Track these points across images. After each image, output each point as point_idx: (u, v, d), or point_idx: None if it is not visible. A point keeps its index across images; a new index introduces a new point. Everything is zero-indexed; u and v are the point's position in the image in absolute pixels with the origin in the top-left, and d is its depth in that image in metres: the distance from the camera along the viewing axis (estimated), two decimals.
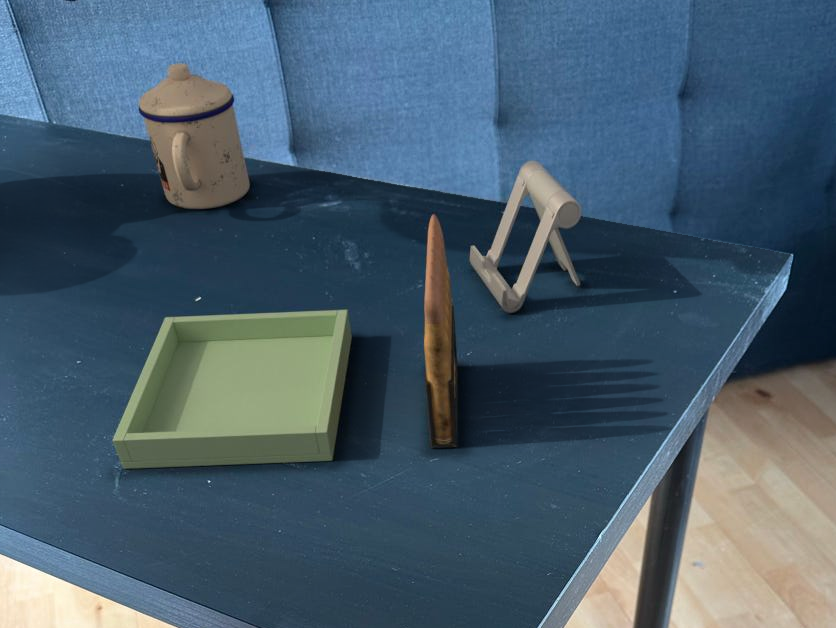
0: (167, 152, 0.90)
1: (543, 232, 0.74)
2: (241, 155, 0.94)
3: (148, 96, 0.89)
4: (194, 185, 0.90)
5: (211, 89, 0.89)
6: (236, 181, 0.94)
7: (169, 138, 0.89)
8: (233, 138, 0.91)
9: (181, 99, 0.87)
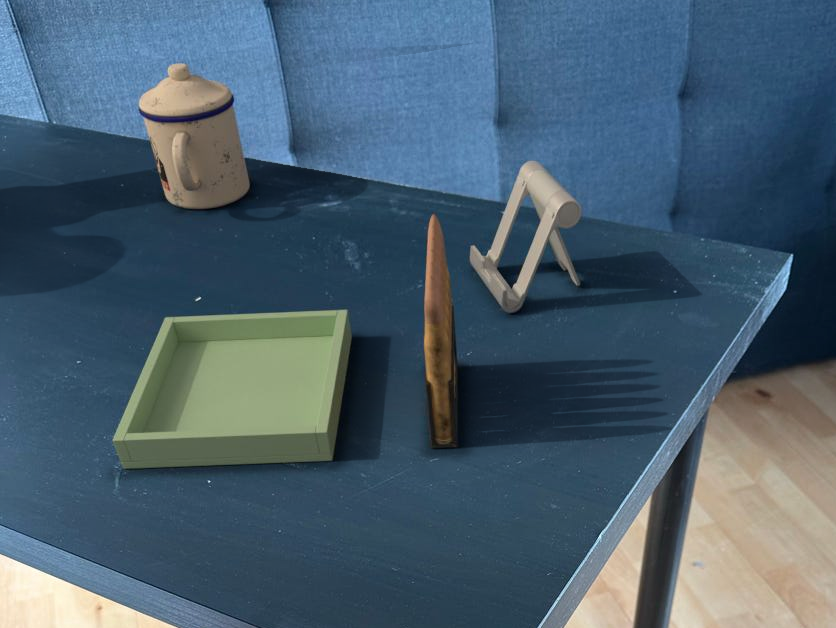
0: (167, 152, 0.90)
1: (543, 232, 0.74)
2: (241, 155, 0.94)
3: (148, 96, 0.89)
4: (194, 185, 0.90)
5: (211, 89, 0.89)
6: (236, 181, 0.94)
7: (169, 138, 0.89)
8: (233, 138, 0.91)
9: (181, 99, 0.87)
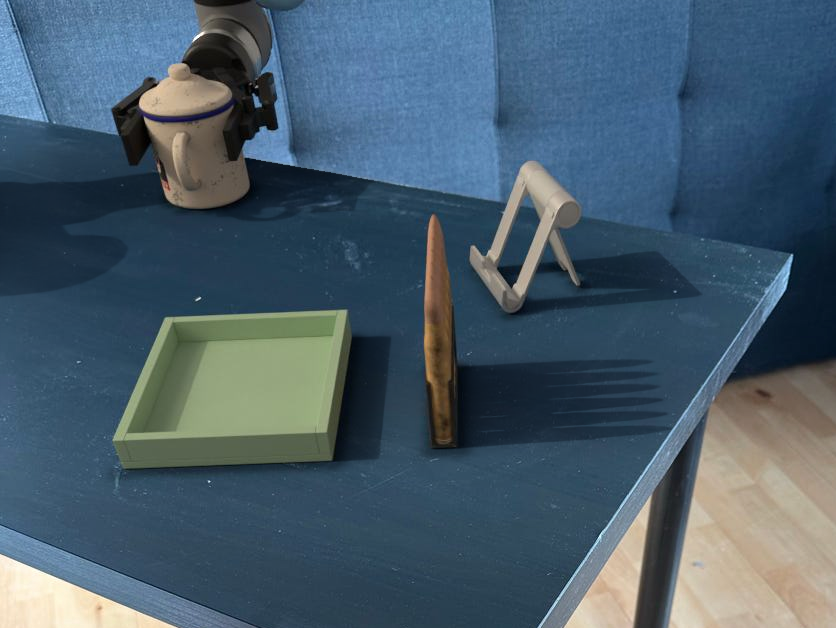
0: (167, 152, 0.90)
1: (543, 232, 0.74)
2: (241, 155, 0.94)
3: (148, 96, 0.89)
4: (194, 185, 0.90)
5: (211, 89, 0.89)
6: (236, 181, 0.94)
7: (169, 138, 0.89)
8: None
9: (181, 99, 0.87)
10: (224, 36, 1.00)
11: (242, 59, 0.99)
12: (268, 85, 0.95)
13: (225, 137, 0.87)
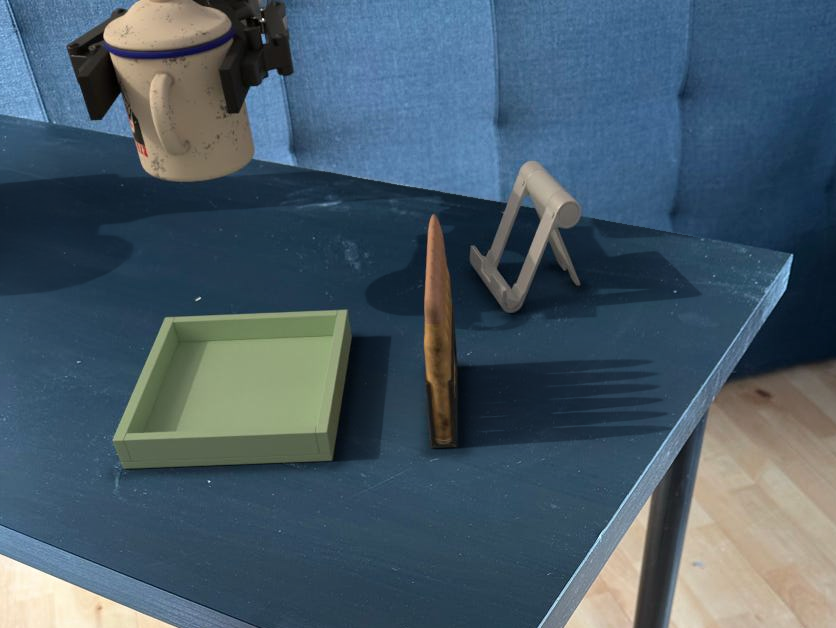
0: (143, 102, 0.66)
1: (543, 232, 0.74)
2: (244, 109, 0.69)
3: (116, 24, 0.64)
4: (180, 147, 0.65)
5: (203, 15, 0.65)
6: (237, 144, 0.69)
7: (145, 81, 0.64)
8: None
9: (162, 27, 0.63)
10: None
11: None
12: (279, 16, 0.71)
13: (223, 79, 0.63)
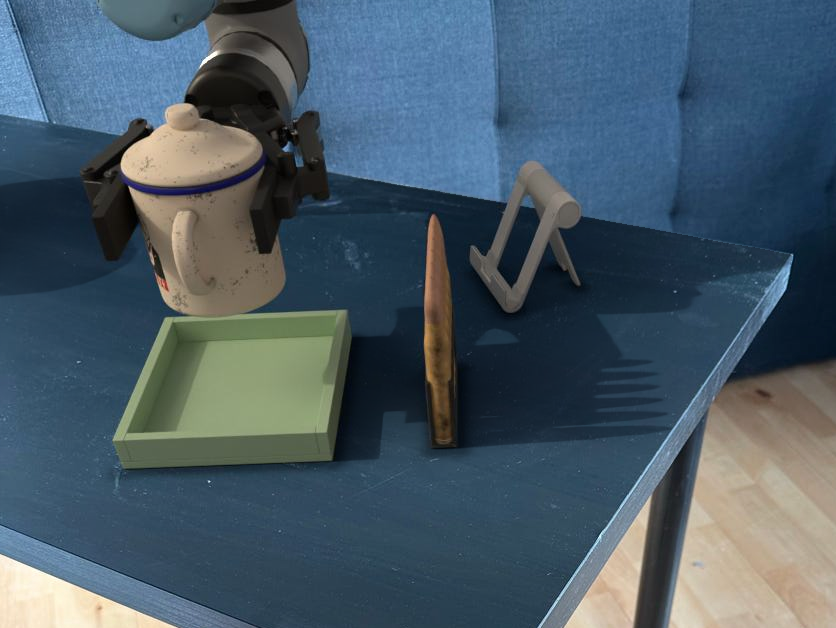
0: (164, 238, 0.59)
1: (543, 232, 0.74)
2: None
3: (135, 153, 0.58)
4: (205, 288, 0.59)
5: (232, 143, 0.58)
6: (267, 276, 0.63)
7: (167, 218, 0.58)
8: None
9: (186, 160, 0.56)
10: (246, 57, 0.69)
11: (273, 91, 0.68)
12: (314, 131, 0.64)
13: (254, 219, 0.56)
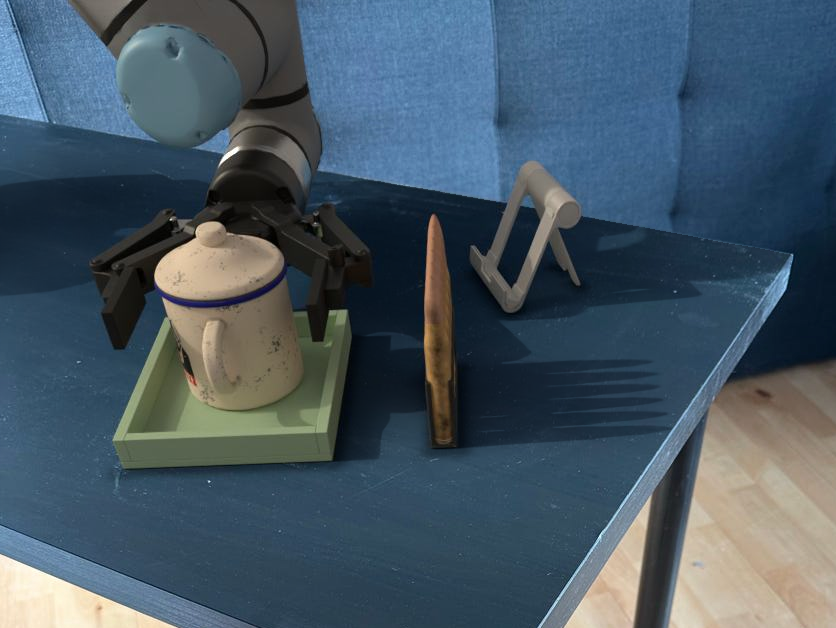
0: (193, 342, 0.64)
1: (543, 232, 0.74)
2: (294, 336, 0.68)
3: (168, 267, 0.63)
4: (232, 389, 0.64)
5: (256, 257, 0.63)
6: (287, 371, 0.68)
7: (197, 326, 0.63)
8: (285, 319, 0.66)
9: (215, 275, 0.62)
10: (265, 155, 0.74)
11: (290, 187, 0.73)
12: (342, 224, 0.70)
13: (309, 313, 0.62)
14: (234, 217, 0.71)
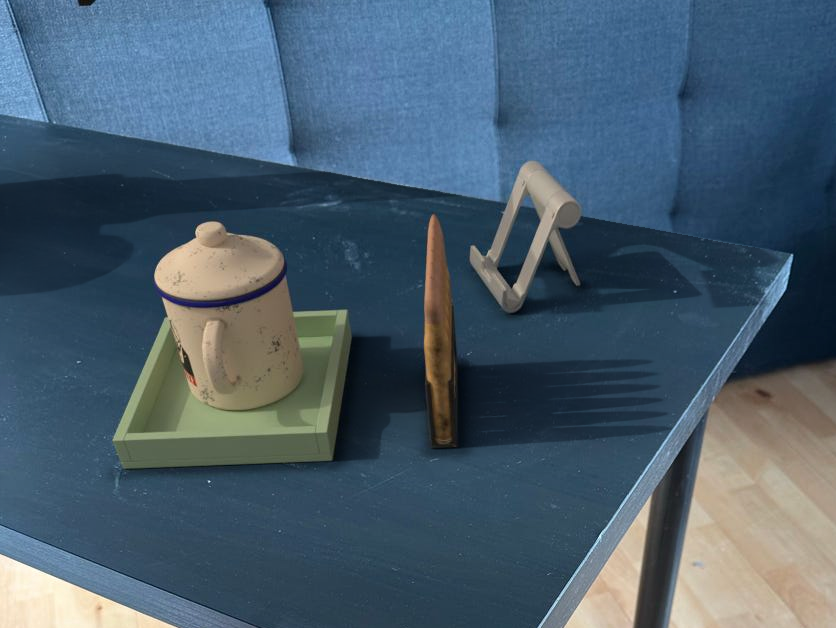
0: (193, 342, 0.64)
1: (543, 232, 0.74)
2: (294, 336, 0.68)
3: (168, 267, 0.63)
4: (232, 389, 0.64)
5: (256, 257, 0.63)
6: (287, 371, 0.68)
7: (197, 326, 0.63)
8: (285, 319, 0.66)
9: (215, 275, 0.62)
10: None
11: None
12: None
13: None
14: None
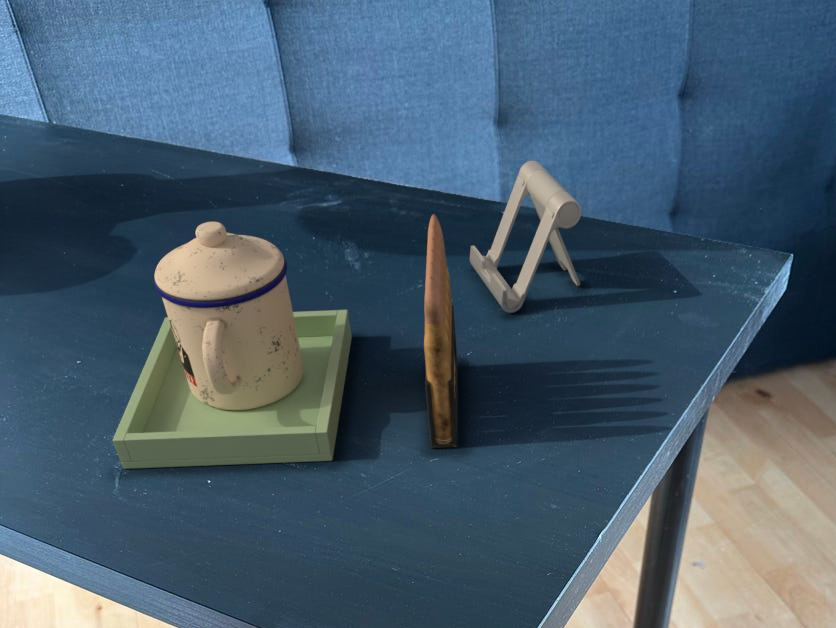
0: (193, 342, 0.64)
1: (543, 232, 0.74)
2: (294, 336, 0.68)
3: (168, 267, 0.63)
4: (232, 389, 0.64)
5: (256, 257, 0.63)
6: (287, 371, 0.68)
7: (197, 326, 0.63)
8: (285, 319, 0.66)
9: (215, 275, 0.62)
10: None
11: None
12: None
13: None
14: None
